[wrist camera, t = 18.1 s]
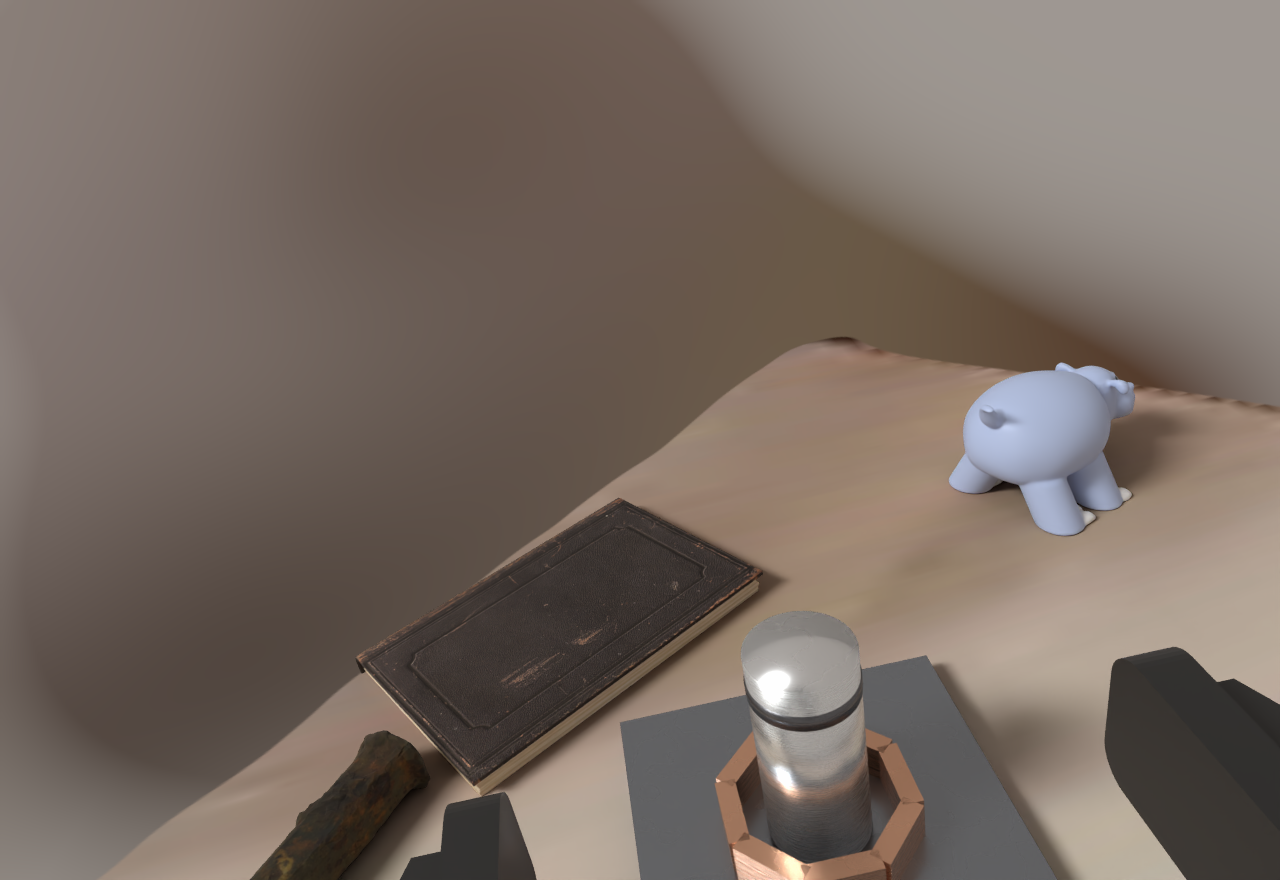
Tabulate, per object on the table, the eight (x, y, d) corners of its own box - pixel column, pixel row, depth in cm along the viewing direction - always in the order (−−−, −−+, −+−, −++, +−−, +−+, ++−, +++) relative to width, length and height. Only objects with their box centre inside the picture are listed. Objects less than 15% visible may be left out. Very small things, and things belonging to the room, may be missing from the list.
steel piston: (781, 878, 42) (754, 704, 37) (756, 789, 46) (728, 624, 41) (889, 854, 42) (877, 677, 37) (853, 768, 46) (838, 600, 41)
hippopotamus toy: (1181, 466, 66) (1197, 346, 61) (1045, 557, 60) (1051, 432, 55) (1050, 420, 74) (1056, 311, 70) (919, 495, 68) (916, 382, 64)
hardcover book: (765, 597, 62) (762, 570, 61) (483, 810, 50) (472, 782, 49) (620, 518, 74) (615, 494, 72) (363, 677, 62) (351, 652, 61)
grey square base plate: (668, 1072, 37) (656, 1028, 35) (623, 737, 53) (613, 697, 51) (1100, 973, 37) (1105, 926, 36) (926, 670, 53) (925, 628, 51)
